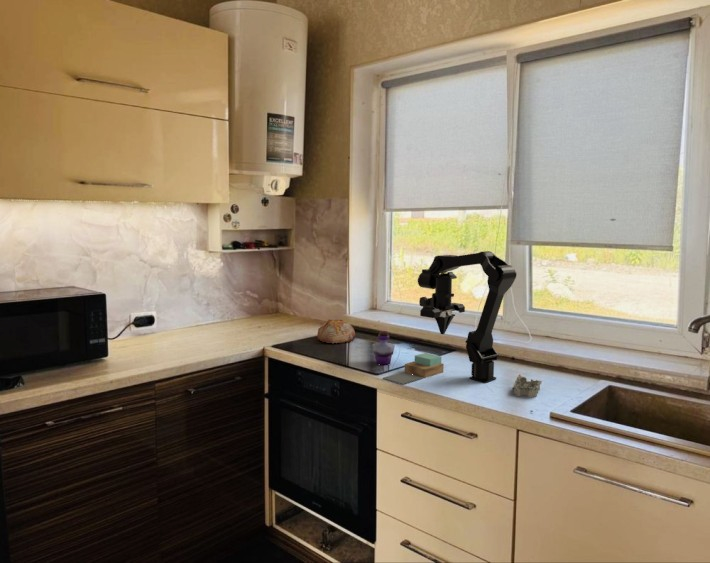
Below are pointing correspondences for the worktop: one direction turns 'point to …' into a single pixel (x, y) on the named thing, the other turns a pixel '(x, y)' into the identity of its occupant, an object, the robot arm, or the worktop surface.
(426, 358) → the tile
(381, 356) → the potion bottle
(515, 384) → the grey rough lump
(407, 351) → the worktop surface
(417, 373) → the block
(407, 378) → the mat
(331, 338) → the bread
